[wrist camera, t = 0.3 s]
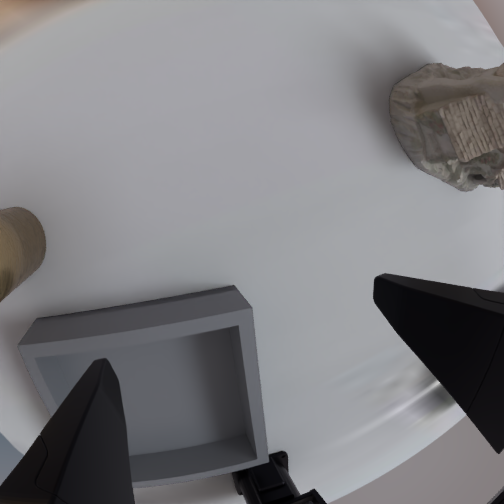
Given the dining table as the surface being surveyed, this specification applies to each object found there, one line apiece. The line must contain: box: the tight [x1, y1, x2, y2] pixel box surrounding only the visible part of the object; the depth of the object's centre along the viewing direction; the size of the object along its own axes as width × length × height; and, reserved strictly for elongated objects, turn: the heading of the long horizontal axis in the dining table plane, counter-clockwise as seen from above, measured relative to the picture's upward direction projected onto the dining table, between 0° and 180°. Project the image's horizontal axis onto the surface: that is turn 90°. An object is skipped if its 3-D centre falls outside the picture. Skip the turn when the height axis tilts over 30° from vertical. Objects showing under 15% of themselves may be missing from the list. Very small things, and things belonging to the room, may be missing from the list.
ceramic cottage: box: [389, 63, 504, 192], centre depth 21 cm, size 16×16×15 cm
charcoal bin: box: [18, 285, 269, 488], centre depth 21 cm, size 16×16×4 cm
